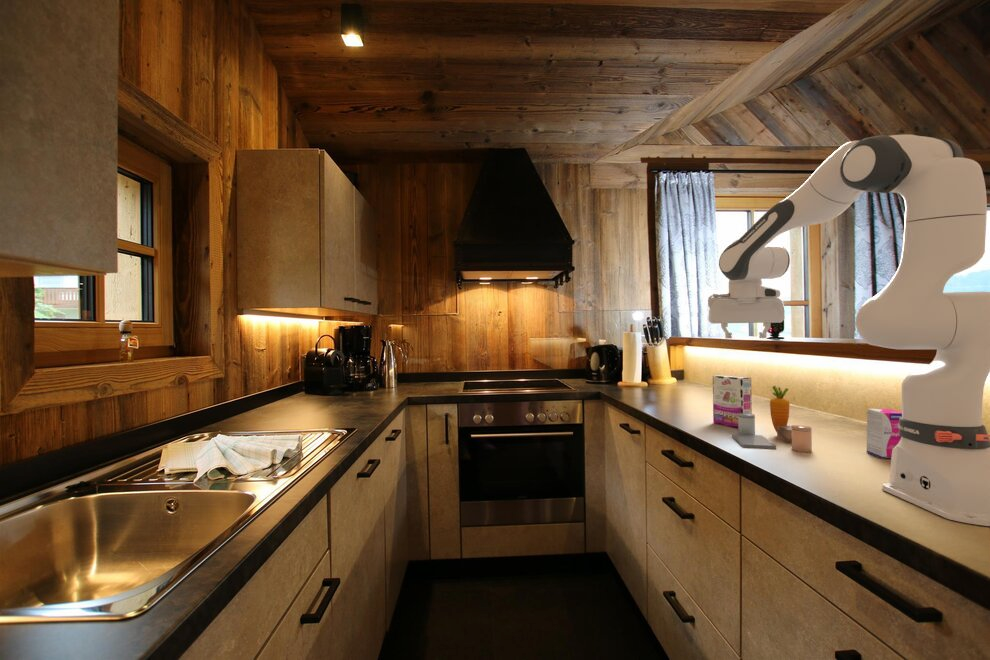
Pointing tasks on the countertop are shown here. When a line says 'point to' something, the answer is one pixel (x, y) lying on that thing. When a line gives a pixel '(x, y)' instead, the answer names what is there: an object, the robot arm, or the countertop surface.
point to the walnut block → (784, 434)
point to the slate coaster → (753, 441)
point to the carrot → (779, 408)
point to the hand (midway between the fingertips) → (745, 338)
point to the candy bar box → (730, 399)
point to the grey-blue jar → (746, 424)
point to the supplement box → (882, 431)
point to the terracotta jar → (801, 438)
